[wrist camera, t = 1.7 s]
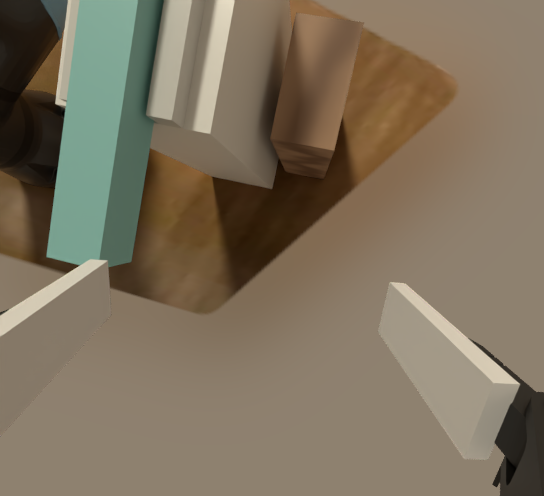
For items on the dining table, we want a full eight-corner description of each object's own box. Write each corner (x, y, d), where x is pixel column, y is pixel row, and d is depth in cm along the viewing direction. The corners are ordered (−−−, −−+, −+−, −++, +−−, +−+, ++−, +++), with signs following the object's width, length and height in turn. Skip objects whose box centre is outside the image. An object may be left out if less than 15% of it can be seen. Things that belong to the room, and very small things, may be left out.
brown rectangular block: (285, 171, 46) (270, 138, 28) (301, 99, 45) (296, 12, 26) (323, 179, 46) (334, 150, 27) (340, 106, 45) (363, 22, 26)
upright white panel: (211, 176, 48) (15, 85, 16) (232, 66, 46) (56, -293, 14) (272, 189, 47) (193, 119, 15) (296, 76, 45) (264, -284, 13)
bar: (87, 251, 19) (46, 256, 16) (149, -178, 16) (114, -268, 13) (131, 261, 19) (97, 269, 16) (202, -174, 16) (177, -265, 13)
